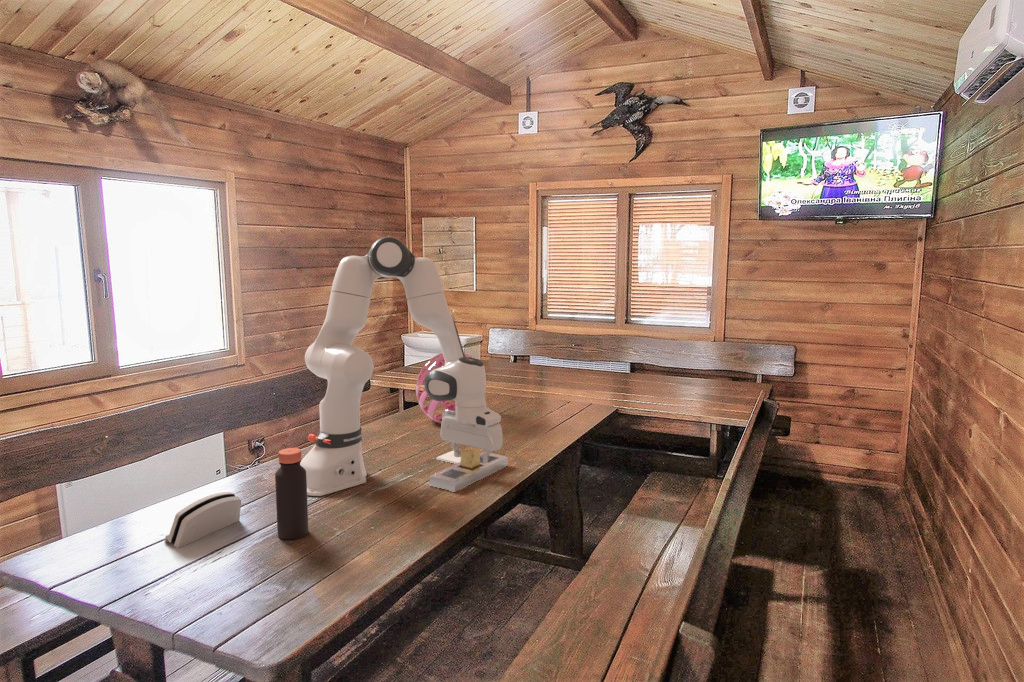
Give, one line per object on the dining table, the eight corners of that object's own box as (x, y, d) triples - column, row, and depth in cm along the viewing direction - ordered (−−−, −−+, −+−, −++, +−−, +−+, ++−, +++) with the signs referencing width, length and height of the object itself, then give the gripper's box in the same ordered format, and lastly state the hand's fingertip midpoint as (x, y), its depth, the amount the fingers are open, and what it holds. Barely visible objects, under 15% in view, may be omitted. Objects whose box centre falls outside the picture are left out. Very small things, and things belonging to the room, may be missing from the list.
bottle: (297, 525, 155) (294, 444, 152) (314, 533, 151) (311, 450, 148) (271, 534, 150) (268, 451, 147) (288, 543, 146) (284, 458, 143)
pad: (461, 466, 197) (461, 463, 197) (436, 459, 203) (436, 457, 203) (481, 457, 206) (481, 454, 206) (456, 451, 211) (456, 449, 211)
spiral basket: (514, 371, 243) (462, 327, 250) (470, 403, 222) (413, 354, 229) (488, 418, 260) (439, 376, 267) (444, 452, 239) (392, 405, 246)
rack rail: (454, 493, 176) (454, 482, 176) (429, 485, 181) (429, 475, 181) (507, 466, 198) (507, 456, 197) (483, 460, 203) (483, 451, 202)
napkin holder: (226, 515, 160) (233, 482, 157) (238, 525, 158) (246, 491, 155) (162, 543, 145) (169, 506, 142) (175, 554, 143) (183, 517, 140)
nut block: (471, 479, 187) (471, 452, 185) (460, 476, 189) (460, 450, 188) (479, 475, 190) (480, 449, 189) (468, 472, 192) (469, 446, 191)
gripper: (435, 410, 190) (436, 455, 192) (493, 421, 179) (492, 469, 181) (449, 406, 195) (449, 450, 197) (505, 416, 184) (505, 463, 186)
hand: (470, 459), depth 189 cm, fingers open, 8 cm apart
